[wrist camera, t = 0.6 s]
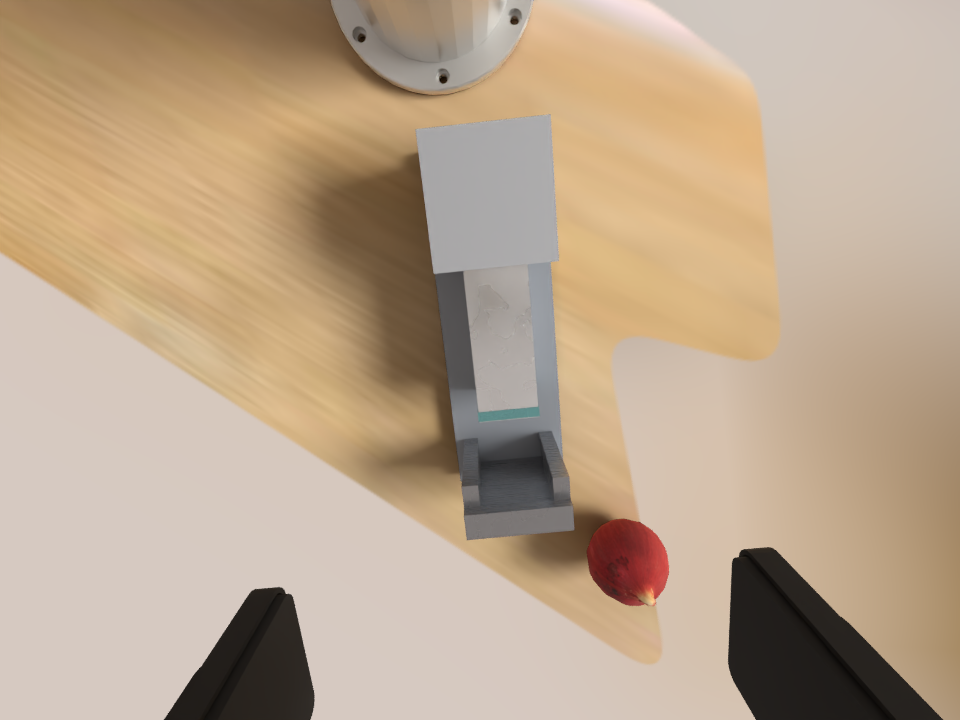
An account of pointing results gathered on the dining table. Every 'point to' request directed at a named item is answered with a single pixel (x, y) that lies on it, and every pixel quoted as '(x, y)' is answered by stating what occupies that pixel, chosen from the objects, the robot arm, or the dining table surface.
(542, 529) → the socket
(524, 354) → the grey rectangular block
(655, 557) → the onion
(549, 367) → the board
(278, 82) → the dining table surface
